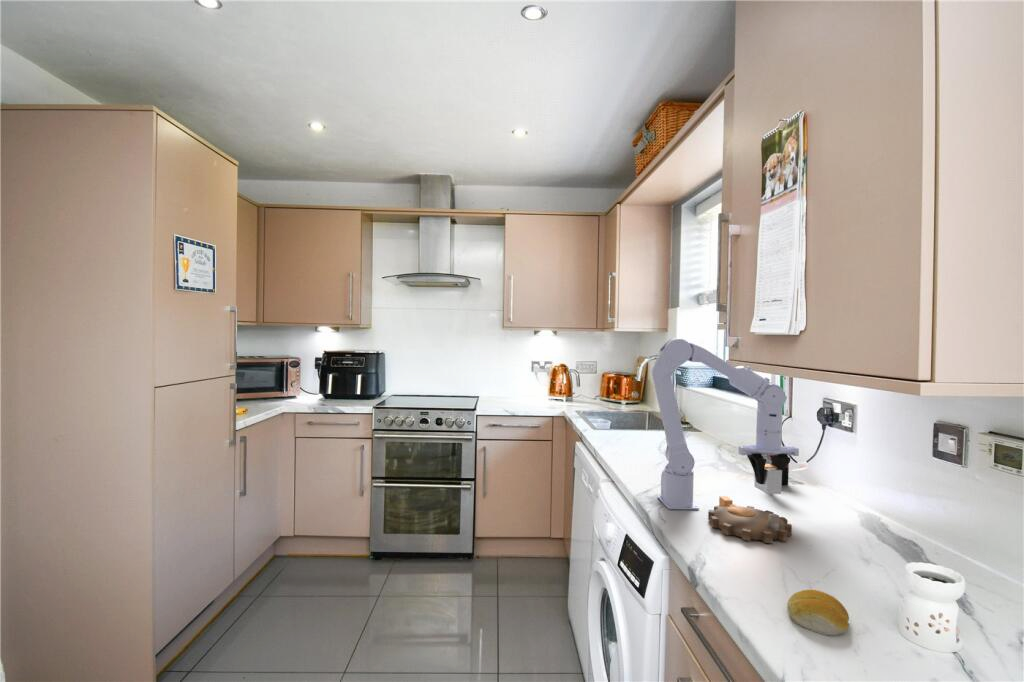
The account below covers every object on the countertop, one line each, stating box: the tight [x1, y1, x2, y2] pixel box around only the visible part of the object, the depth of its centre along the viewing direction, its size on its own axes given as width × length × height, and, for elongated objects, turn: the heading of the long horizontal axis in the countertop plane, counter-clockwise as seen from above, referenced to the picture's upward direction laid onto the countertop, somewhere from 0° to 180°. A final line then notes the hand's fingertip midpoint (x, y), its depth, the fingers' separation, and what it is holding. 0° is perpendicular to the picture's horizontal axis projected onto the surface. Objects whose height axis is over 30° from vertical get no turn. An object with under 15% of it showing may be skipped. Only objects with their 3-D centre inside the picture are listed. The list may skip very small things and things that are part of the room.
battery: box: [766, 455, 790, 487], centre depth 147 cm, size 4×7×10 cm, turn 170°
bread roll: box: [786, 589, 850, 637], centre depth 76 cm, size 8×9×4 cm
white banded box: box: [753, 464, 783, 495], centre depth 121 cm, size 6×4×6 cm, turn 1°
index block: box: [718, 495, 733, 507], centre depth 123 cm, size 3×2×3 cm, turn 1°
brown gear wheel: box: [707, 504, 793, 544], centre depth 111 cm, size 17×17×5 cm
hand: (767, 483), depth 121 cm, fingers closed on white banded box, 4 cm apart
